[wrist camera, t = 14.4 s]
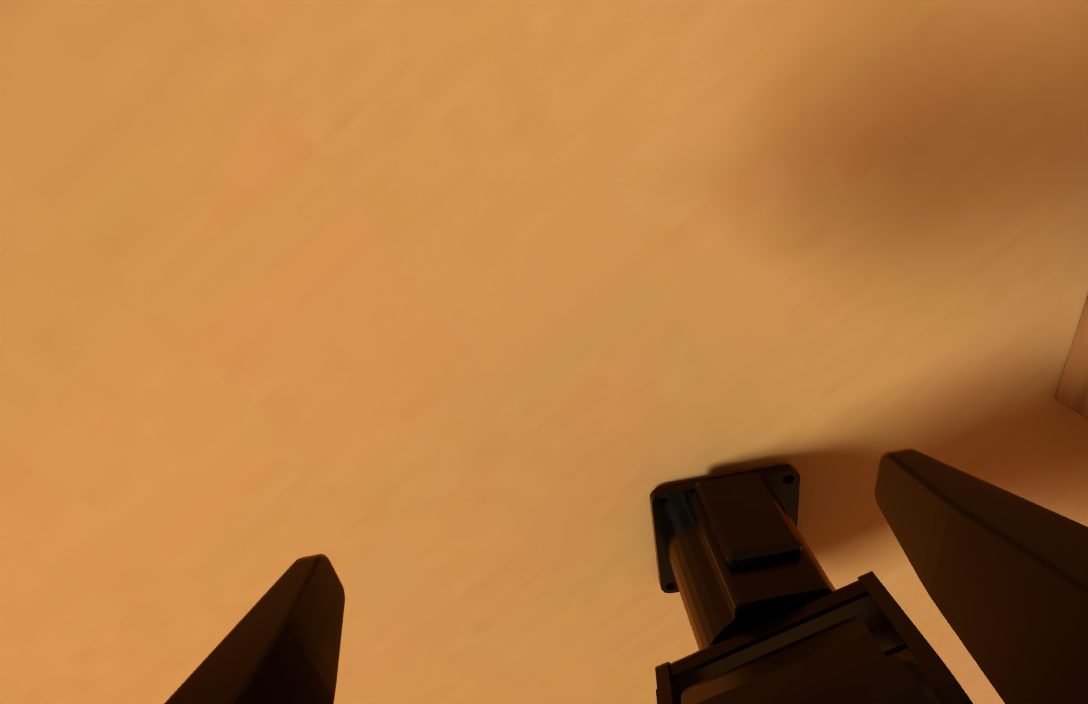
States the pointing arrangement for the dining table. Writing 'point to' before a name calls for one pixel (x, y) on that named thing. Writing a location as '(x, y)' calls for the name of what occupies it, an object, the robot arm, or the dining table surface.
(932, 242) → the dining table surface
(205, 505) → the dining table surface
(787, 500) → the robot arm
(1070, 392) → the bookend
